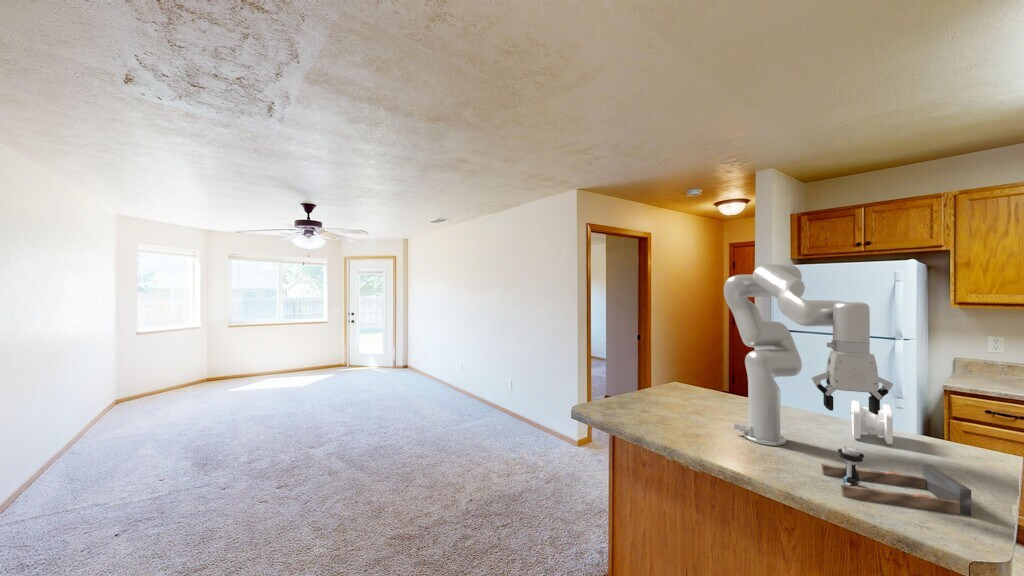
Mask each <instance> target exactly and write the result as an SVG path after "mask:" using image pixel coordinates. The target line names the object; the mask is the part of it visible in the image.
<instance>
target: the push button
mask: <svg viewBox="0 0 1024 576" xmlns="http://www.w3.org/2000/svg"><path fill="white" fill-rule="evenodd" d="M837 452H838V453H839V457H840V458H841V459H842V460H843V461H845V467H846V468H845V470H844V471H843V475H844V477H842V485H848V486H855V487H860V486H859V485H860V480H859V476H858V473H856V469H857V468H856V464H859V463H862V462H863V461H864V458H865V454H864V453H862V452H860V449H858V448H855V447H853V446H852V447H851V446H842V448H839V449H837Z"/></svg>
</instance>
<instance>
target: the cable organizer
mask: <svg viewBox="0 0 1024 576" xmlns="http://www.w3.org/2000/svg"><path fill="white" fill-rule="evenodd" d="M850 416H851V431H852V432H851V433H852V437H853V439H856V440H861V435H863V436H868V435H872V436H876V437H877V438H878V439H884V442H885V444H886V445H887V446H890V445H893V442H894V441H893V439H894V437H893V436H894V433H893V431H894V425H893V424H894V423H893V422H894V419H893V418H894V416H893V412H892V409H891V406H890V404H888V403H887V404H885V403H883V404H882V409H880V411H878V415H876V414H874V413H872V412H870V411H869V407H864V406H861V404H860V401H858V400H854V399H853V400H852V401H851V402H850Z"/></svg>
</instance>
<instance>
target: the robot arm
mask: <svg viewBox="0 0 1024 576" xmlns="http://www.w3.org/2000/svg"><path fill="white" fill-rule="evenodd" d="M805 288H806V287H805V284H804V282H803V281H802V272H801V270H800V269H799V267H798V266H796V265H793V264H789V263H767V264H762V265H759V266H757V267H755V269H754V271H753V273H752V274H736V275H733V276H730V277H729V278H728V279H726V280H725V283H724V285H723V296H724V299H725V302H726V304H727V305H728V307H729V310H730V311H731V313H732V314H733V317H734V321H735V324H736V327H737V329H738V333H739V336H740V338H741V341H742V343H743V344H744V345H745V346H747V347H750V348H766V349H754V350H751V351H749V352H748V353H747V354H746V355H745V358H744V365H745V369H746V374H747V383H748V384H747V387H748V388H747V389H748V390H747V391H748V392H747V393H748V394H747V398H748V401H747V403H748V405H747V406H748V407H747V408H748V409H747V410H748V411H747V414H748V415H747V418H748V419H747V421H746V422H745V423H743V424H739V423H733V428H732V429H733V430H738V432H742V433H743V434H742V435H743V437H744V438H745V439H747V440H749V441H750V442H754V443H757V444H760V445H766V446H772V447H773V446H777V447H778V446H783V445H785V444H786V442H787V440H786V438H785V437H784V436H783V435H781V389H780V387H779V384H778V383H777V381H776V380H775V378H779V377H783V378H784V377H785V378H786V377H795V376H798V375H799V374H800V373H801V371H802V368H803V366H802V365H803V364H802V363H803V361H802V359H801V355H800V353H799V351H798V349H797V346H796V343H795V341H794V338H793V336H792V333H791V331H790V329H789V328H788V327H787V326H786V325H785V324H784V323H781V322H779V321H773V320H771V321H770V320H769V321H765V320H764V319H763V317H762V315H761V312H760V310H759V308H758V307H757V305H756V304H755V303H753V302H752V301H751V300H750V299H748V298H757V297H758V298H767V297H774V298H776V299H777V306H778V309H779V310H780V312H781V313H782V314H783V315H784V316H785V317H786V318H788V319H789V320H791V321H793V322H794V323H795V324H797V325H800V326H802V327H803V326H804V327H832V339H831V341H830V342H826V347H827V348H830V349H832V350H831V351H829V355H828V358H827V363H826V371H825V372H823V373H820V374H816V375H815V376H812V377H811V380H812V382H813V384H814V385H815V387H816V388H817V389H818V391H820V392H821V393H822V394H823V406H824V407H825V408H826V409H827V410H828V411H831V412H832V411H834V396H833V393H834V392H836V390H837V391H844V392H857V393H868V394H869V395H870V396H869V397H868V408H869V411H870V412H872V413H874V414H876V415H878V411H880V410H881V400H883V398H884V397H885V396H886V395H888V394H889V391H890V390H891V388H892V387H893V385H894V384H893V383H892V382H891V381H889V380H886V379H885V378H883V377H880V376H879V371H878V370H879V369H878V366H877V361H876V358H875V354H873V353H871V344H870V343H871V341H870V340H871V338H870V335H871V334H870V332H871V331H870V330H871V329H870V326H871V325H870V322H871V321H870V318H871V317H870V314H871V312H870V310H871V309H870V306H869V304H867V303H865V302H861V301H860V302H859V301H858V302H857V301H841V300H828V299H827V300H825V299H823V300H821V299H819V300H812V299H811V300H810V299H809V300H806V299H804V298H802V296H803V295H804V293H805ZM767 348H768V349H767ZM770 348H771V349H770ZM822 380H825V382H826V383H825V384H826V385H825V386H823V385H822V382H821V381H822ZM880 384H881V388H880Z"/></svg>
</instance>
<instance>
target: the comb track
mask: <svg viewBox="0 0 1024 576" xmlns="http://www.w3.org/2000/svg"><path fill="white" fill-rule="evenodd" d="M845 468H846V466H838V465H831V464H821V473H822V475H824V476H829V477H830V476H831V477H836V478H837V477H838V478H844V475H843V471H844V470H845ZM856 473H858V476H859V481H867V482H876V483H881V484H888V485H889V484H890V485H896V486H904V487H910V488H919V489H926V490H927V491H928V492H930V493H931V494H932V495H933V496H934V497H932V496H930V495H927V494H920V493H912V494H910V493H905V492H898V491H890V490H889V491H888V490H882V489H874V488H869V487H861V486H858V487H857V486H848V485H844V484H841V485H840V488H841V489H840V493H841V496H842V497H844V498H849V499H850V498H852V499H858V500H864V501H871V502H876V503H877V502H879V503H884V504H892V505H898V506H905V507H912V508H918V509H925V510H931V511H938V512H946V513H952V514H958V515H959V514H960V515H965V516H972V489H971V488H968V487H967V486H966V485H964V484H962V483H961V482H959V481H958V480H956V479H955V478H953V477H952V476H950V475H949V474H947V473H945V472H944V471H942V470H941V469H939V468H937V467H936V466H934V465H933V464H926V463H925V464H924V463H923V464H922V476H917V475H909V474H908V475H907V474H901V473H900V472H895V471H886V470H885V472H884V471H878V470H876V471H875V470H870V469H869V470H868V469H861V468H856Z"/></svg>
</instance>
